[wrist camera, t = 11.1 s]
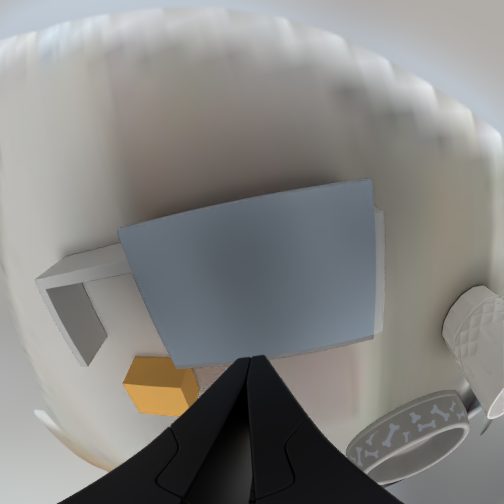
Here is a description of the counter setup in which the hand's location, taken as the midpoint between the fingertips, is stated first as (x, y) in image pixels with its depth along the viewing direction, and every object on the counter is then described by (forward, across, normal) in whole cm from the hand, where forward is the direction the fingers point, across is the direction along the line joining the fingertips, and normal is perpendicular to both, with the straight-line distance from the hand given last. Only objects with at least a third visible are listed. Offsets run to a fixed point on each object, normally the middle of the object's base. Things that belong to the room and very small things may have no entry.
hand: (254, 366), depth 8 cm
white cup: (+11, +18, -11) cm, 24 cm away
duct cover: (+6, 0, -1) cm, 6 cm away
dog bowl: (+11, +15, -31) cm, 36 cm away
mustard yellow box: (+11, -10, -10) cm, 18 cm away
